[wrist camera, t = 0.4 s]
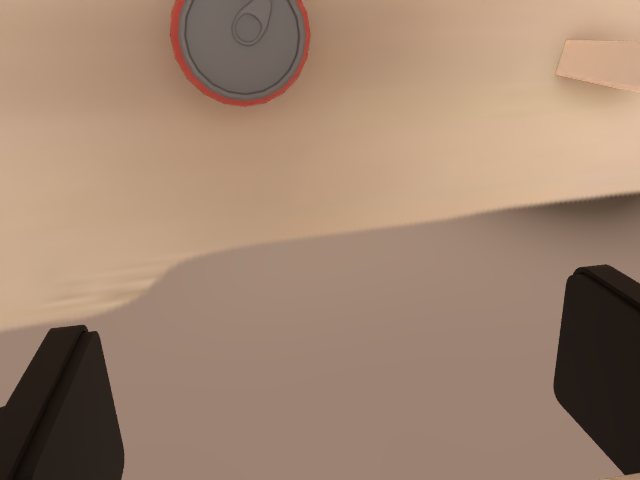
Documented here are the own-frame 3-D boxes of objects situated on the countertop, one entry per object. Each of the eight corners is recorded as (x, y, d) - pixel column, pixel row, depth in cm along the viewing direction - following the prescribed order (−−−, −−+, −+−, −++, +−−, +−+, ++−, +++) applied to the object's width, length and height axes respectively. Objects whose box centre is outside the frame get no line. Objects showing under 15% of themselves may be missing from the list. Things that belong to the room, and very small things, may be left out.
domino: (566, 39, 39) (673, 42, 30) (626, 54, 40) (748, 61, 31) (555, 74, 40) (656, 88, 30) (614, 88, 41) (729, 104, 31)
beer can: (308, 22, 36) (346, 18, 25) (251, 107, 37) (263, 140, 26) (220, -47, 33) (219, -86, 22) (163, 46, 35) (135, 54, 24)
